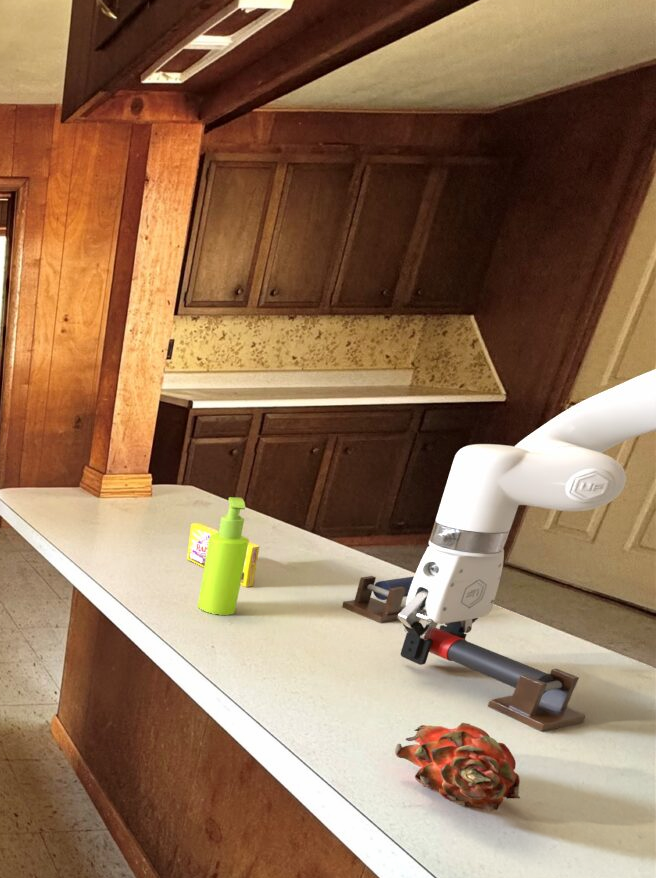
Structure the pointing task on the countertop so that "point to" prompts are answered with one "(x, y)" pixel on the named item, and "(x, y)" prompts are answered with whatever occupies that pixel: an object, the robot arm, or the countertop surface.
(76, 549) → the countertop surface
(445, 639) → the red marker
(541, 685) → the holder
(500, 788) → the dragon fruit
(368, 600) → the holder
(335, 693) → the countertop surface
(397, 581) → the navy marker
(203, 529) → the candy box
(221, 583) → the soap dispenser
